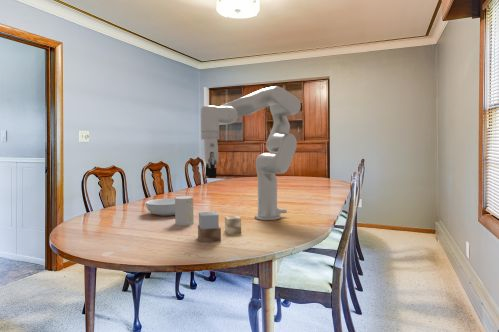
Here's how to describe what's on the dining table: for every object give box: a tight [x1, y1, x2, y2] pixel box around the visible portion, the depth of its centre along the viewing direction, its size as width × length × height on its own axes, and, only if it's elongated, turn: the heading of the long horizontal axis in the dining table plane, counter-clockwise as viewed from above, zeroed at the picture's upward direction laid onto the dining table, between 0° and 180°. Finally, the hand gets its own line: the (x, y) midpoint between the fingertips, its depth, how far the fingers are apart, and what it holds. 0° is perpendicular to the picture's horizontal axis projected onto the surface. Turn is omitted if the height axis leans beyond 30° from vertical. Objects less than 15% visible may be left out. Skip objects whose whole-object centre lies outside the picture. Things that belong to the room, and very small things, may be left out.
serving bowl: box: [145, 197, 175, 217], centre depth 168 cm, size 21×21×7 cm
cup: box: [174, 195, 195, 227], centre depth 146 cm, size 8×8×12 cm
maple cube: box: [224, 215, 242, 235], centre depth 132 cm, size 6×6×6 cm
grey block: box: [198, 211, 220, 229], centre depth 121 cm, size 6×6×5 cm
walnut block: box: [197, 224, 222, 244], centre depth 122 cm, size 8×8×5 cm
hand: (210, 176), depth 135 cm, fingers open, 9 cm apart
